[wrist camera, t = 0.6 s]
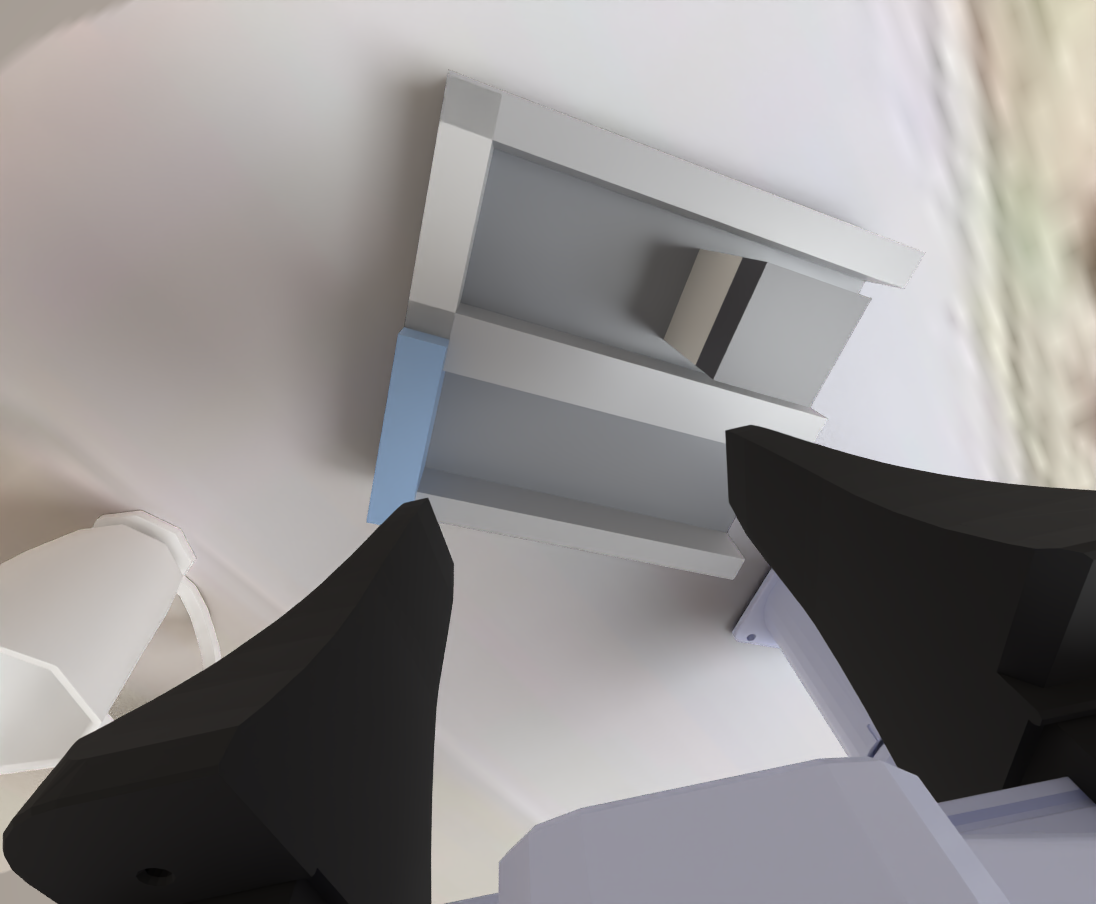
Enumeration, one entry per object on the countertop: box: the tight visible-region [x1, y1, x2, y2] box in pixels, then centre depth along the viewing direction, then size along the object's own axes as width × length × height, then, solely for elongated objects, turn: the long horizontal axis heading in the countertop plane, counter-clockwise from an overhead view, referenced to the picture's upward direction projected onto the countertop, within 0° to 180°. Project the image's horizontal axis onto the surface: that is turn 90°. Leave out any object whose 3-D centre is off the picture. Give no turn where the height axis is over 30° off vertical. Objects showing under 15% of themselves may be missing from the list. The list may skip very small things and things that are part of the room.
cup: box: [0, 510, 221, 775], centre depth 19 cm, size 7×10×8 cm
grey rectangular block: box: [663, 249, 872, 407], centre depth 16 cm, size 3×3×5 cm
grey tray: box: [367, 69, 925, 580], centre depth 18 cm, size 16×15×4 cm
